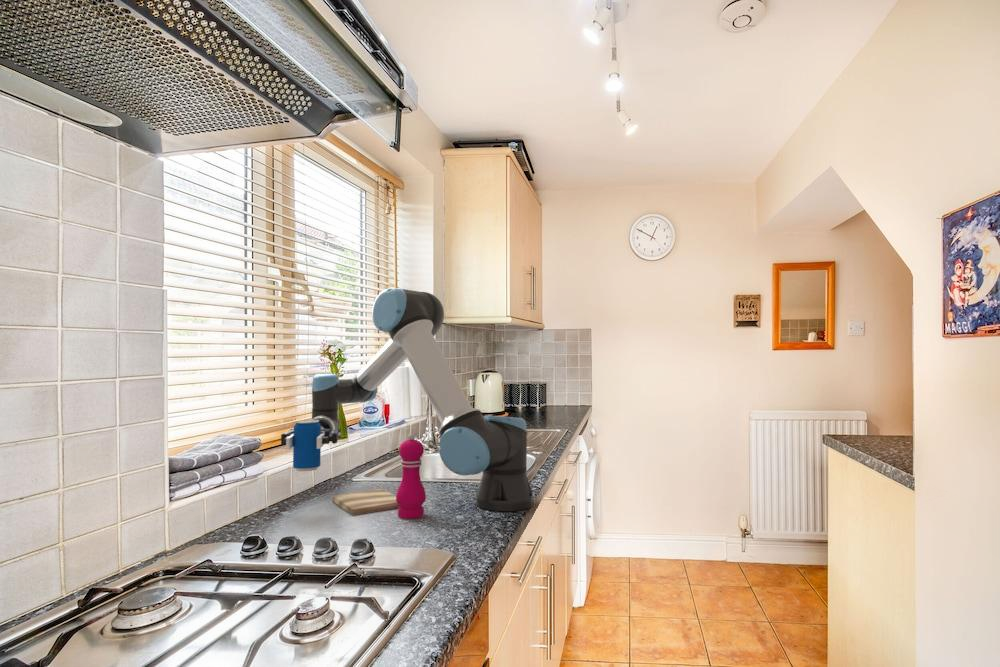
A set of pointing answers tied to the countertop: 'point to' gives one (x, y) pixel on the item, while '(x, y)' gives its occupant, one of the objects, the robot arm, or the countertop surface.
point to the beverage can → (306, 445)
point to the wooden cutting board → (366, 501)
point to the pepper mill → (411, 480)
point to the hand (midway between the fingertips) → (303, 443)
